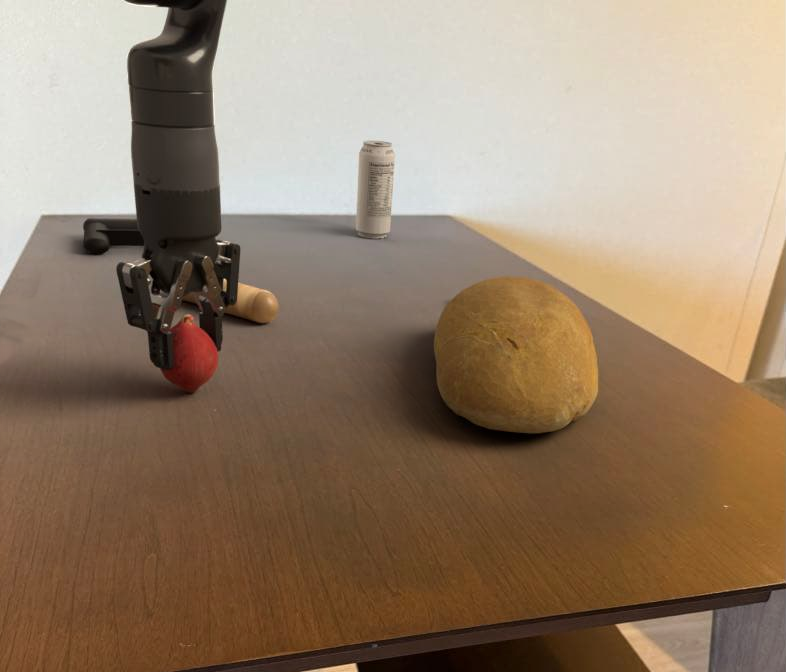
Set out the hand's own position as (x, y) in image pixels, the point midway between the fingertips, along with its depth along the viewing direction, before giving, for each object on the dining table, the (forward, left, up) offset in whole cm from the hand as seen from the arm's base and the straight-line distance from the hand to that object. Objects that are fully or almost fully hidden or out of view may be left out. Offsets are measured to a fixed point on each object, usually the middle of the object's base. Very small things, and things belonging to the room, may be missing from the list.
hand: (187, 358), depth 85 cm
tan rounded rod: (-16, +22, -4) cm, 27 cm away
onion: (0, 0, -4) cm, 4 cm away
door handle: (-44, +37, -4) cm, 58 cm away
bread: (+24, +26, -4) cm, 36 cm away
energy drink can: (-26, +72, -4) cm, 77 cm away
